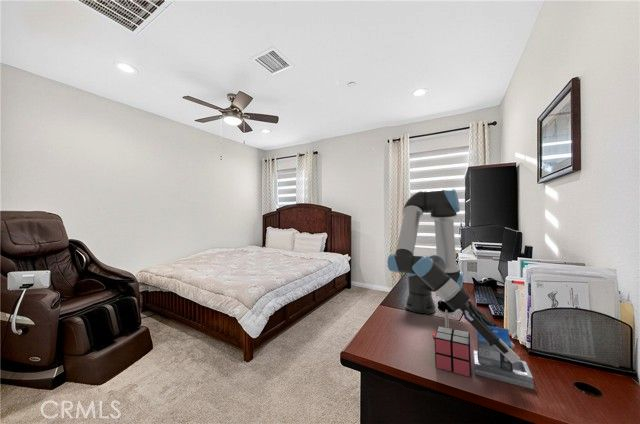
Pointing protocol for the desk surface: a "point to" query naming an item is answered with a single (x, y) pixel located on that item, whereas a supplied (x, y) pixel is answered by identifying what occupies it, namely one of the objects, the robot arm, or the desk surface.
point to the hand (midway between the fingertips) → (513, 353)
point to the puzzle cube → (453, 351)
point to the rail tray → (506, 373)
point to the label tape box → (494, 350)
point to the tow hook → (445, 322)
